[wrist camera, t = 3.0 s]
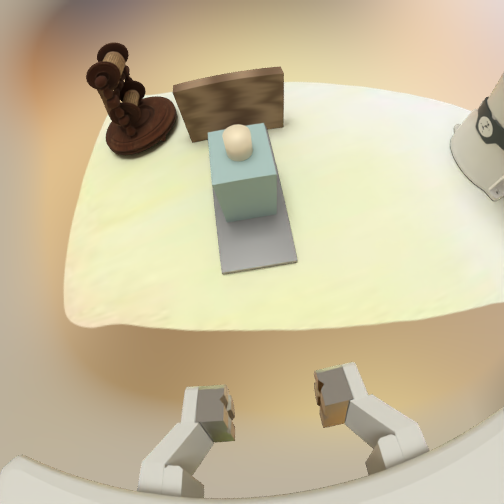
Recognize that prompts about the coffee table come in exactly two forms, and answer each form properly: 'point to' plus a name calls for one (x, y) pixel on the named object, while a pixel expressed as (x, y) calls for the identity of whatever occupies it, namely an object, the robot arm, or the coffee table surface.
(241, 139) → the dowel block
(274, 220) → the grey flat rectangular plate
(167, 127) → the scroll
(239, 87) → the backstop wall
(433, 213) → the coffee table surface
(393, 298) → the coffee table surface
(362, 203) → the coffee table surface
